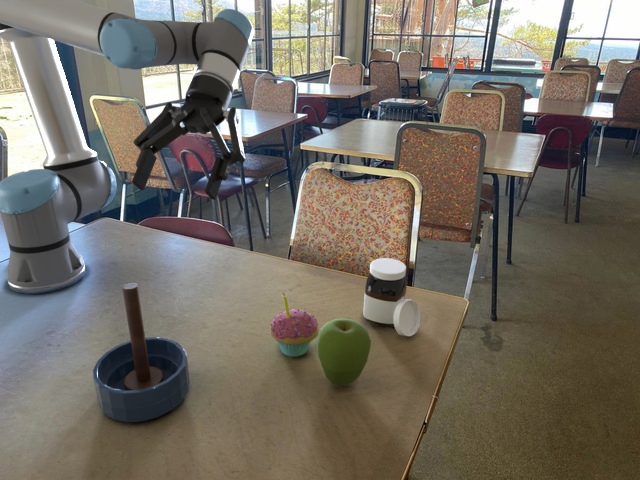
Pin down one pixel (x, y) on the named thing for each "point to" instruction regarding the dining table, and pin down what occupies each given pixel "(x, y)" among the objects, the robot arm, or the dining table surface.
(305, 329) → the cupcake
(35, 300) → the dining table surface
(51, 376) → the dining table surface
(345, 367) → the apple
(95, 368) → the bowl
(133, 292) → the wooden peg stand
